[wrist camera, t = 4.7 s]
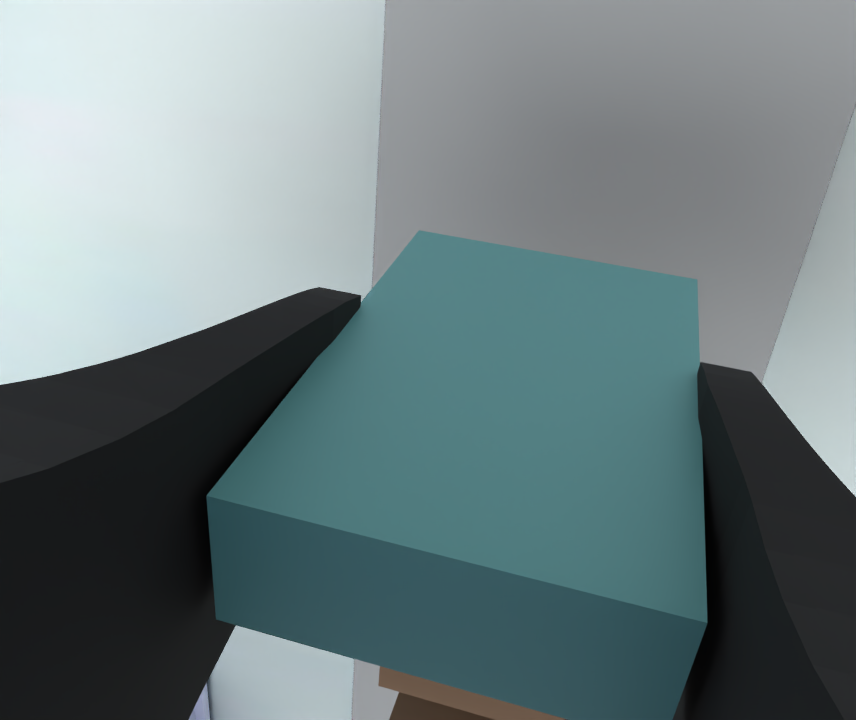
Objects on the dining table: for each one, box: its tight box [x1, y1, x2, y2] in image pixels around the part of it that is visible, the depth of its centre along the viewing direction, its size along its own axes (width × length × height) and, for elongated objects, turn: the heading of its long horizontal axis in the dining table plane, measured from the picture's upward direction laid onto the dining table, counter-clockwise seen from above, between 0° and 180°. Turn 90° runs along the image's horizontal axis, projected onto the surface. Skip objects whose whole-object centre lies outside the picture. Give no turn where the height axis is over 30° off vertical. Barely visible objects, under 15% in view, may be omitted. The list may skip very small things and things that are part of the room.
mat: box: [351, 0, 856, 720], centre depth 23 cm, size 29×10×1 cm, turn 176°
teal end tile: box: [206, 230, 707, 720], centre depth 10 cm, size 2×4×7 cm, turn 86°
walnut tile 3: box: [378, 666, 568, 720], centre depth 20 cm, size 2×4×7 cm, turn 86°
